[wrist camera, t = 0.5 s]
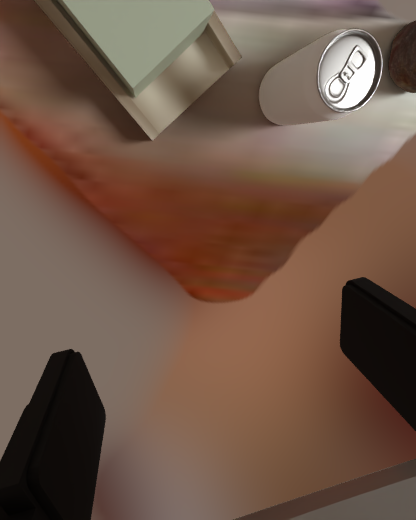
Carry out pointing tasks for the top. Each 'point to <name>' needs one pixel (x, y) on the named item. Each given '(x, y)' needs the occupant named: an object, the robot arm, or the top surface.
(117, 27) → the sliding block
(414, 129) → the top surface
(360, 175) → the top surface
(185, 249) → the top surface
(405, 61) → the brown textured cylinder
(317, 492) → the robot arm
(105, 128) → the top surface
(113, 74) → the channel
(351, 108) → the can
